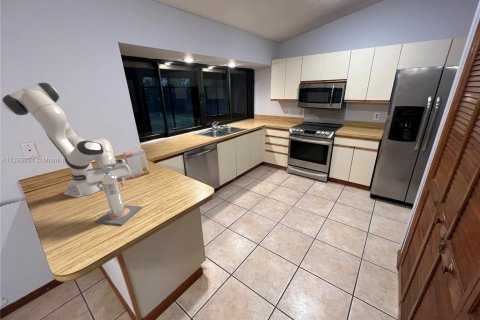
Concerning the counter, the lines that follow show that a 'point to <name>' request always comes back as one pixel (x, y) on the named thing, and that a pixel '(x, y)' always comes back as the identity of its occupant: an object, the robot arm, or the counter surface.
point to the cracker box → (136, 163)
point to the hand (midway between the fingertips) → (112, 188)
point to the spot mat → (121, 219)
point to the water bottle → (113, 194)
